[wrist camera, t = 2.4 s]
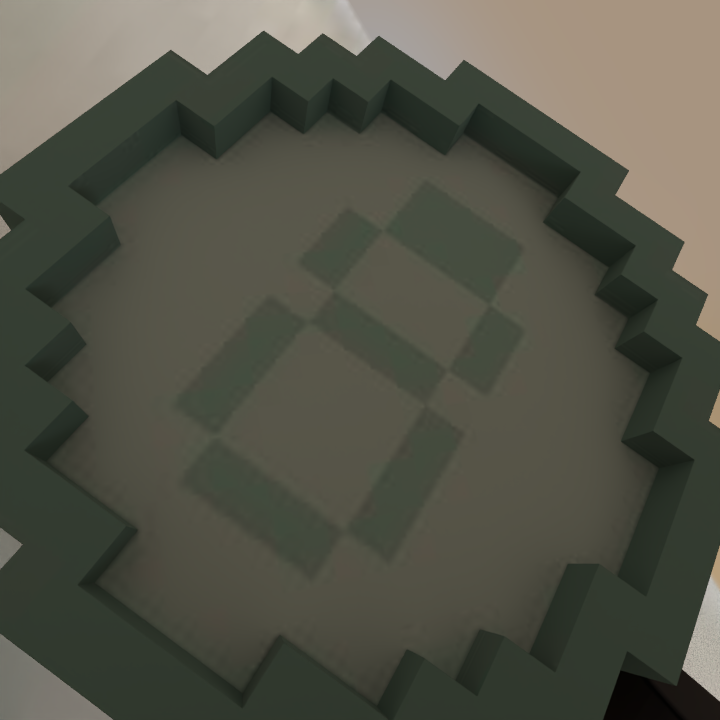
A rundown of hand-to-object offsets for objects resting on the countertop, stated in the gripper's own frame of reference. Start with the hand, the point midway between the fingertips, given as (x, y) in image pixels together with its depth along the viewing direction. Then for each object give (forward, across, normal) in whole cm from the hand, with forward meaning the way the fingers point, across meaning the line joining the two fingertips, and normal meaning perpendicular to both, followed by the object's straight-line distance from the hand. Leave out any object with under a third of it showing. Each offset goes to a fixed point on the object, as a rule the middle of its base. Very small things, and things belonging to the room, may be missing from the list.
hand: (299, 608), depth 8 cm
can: (+9, 0, +6) cm, 11 cm away
